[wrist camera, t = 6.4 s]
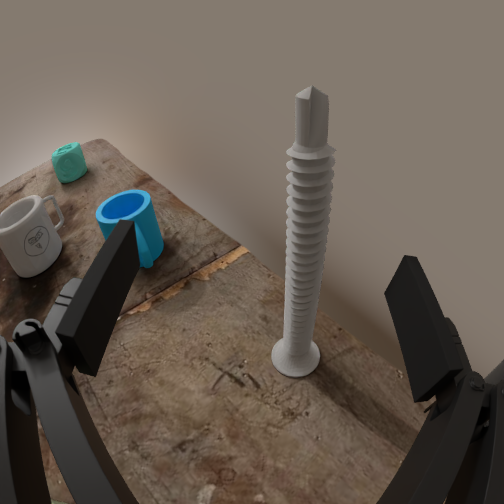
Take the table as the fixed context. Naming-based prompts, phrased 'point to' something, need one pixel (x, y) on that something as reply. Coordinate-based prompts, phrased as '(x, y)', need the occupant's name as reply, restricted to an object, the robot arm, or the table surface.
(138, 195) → the mug
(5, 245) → the mug
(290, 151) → the screw
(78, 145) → the decorative dice
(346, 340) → the table surface
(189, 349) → the table surface
